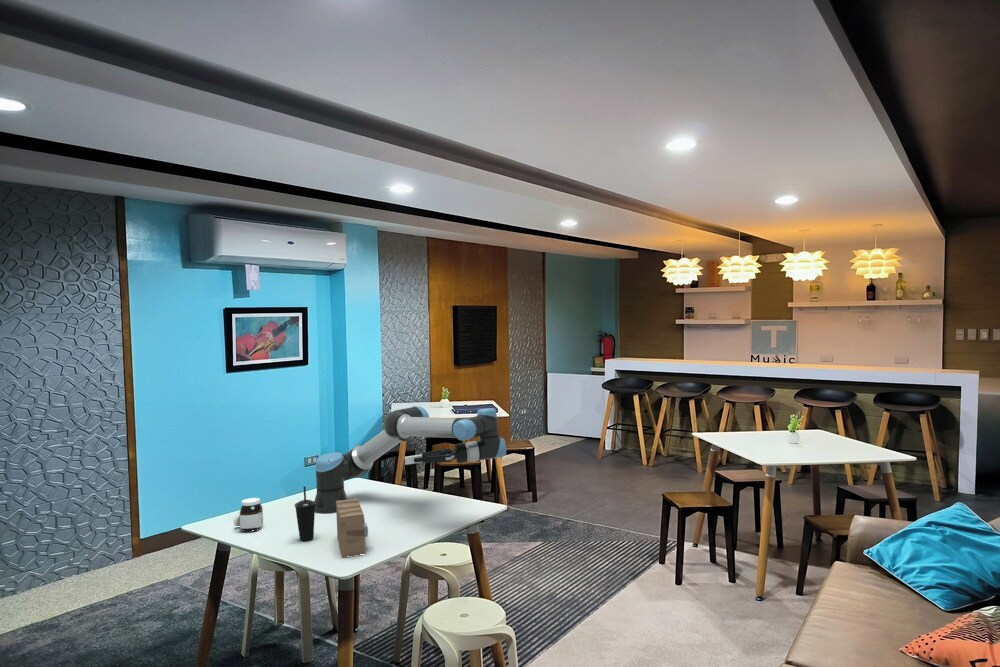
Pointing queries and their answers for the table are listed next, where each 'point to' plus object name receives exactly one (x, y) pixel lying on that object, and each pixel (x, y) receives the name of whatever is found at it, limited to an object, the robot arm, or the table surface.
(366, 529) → the slate key
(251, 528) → the spread jar
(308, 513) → the drinking cup
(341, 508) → the brown wooden block
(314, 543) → the table surface
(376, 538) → the table surface
